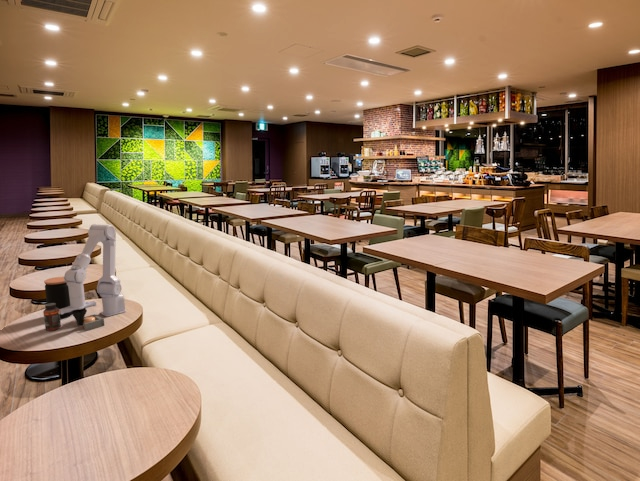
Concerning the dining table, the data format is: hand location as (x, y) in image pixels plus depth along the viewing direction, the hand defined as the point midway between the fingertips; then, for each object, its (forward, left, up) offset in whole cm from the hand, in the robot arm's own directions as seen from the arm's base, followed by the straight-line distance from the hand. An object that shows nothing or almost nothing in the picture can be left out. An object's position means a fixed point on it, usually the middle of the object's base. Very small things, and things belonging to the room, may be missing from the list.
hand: (80, 325), depth 187 cm
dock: (-4, 0, -1) cm, 5 cm away
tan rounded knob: (-4, 0, -1) cm, 4 cm away
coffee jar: (-1, -24, -2) cm, 24 cm away
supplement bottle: (+8, -9, -2) cm, 12 cm away
